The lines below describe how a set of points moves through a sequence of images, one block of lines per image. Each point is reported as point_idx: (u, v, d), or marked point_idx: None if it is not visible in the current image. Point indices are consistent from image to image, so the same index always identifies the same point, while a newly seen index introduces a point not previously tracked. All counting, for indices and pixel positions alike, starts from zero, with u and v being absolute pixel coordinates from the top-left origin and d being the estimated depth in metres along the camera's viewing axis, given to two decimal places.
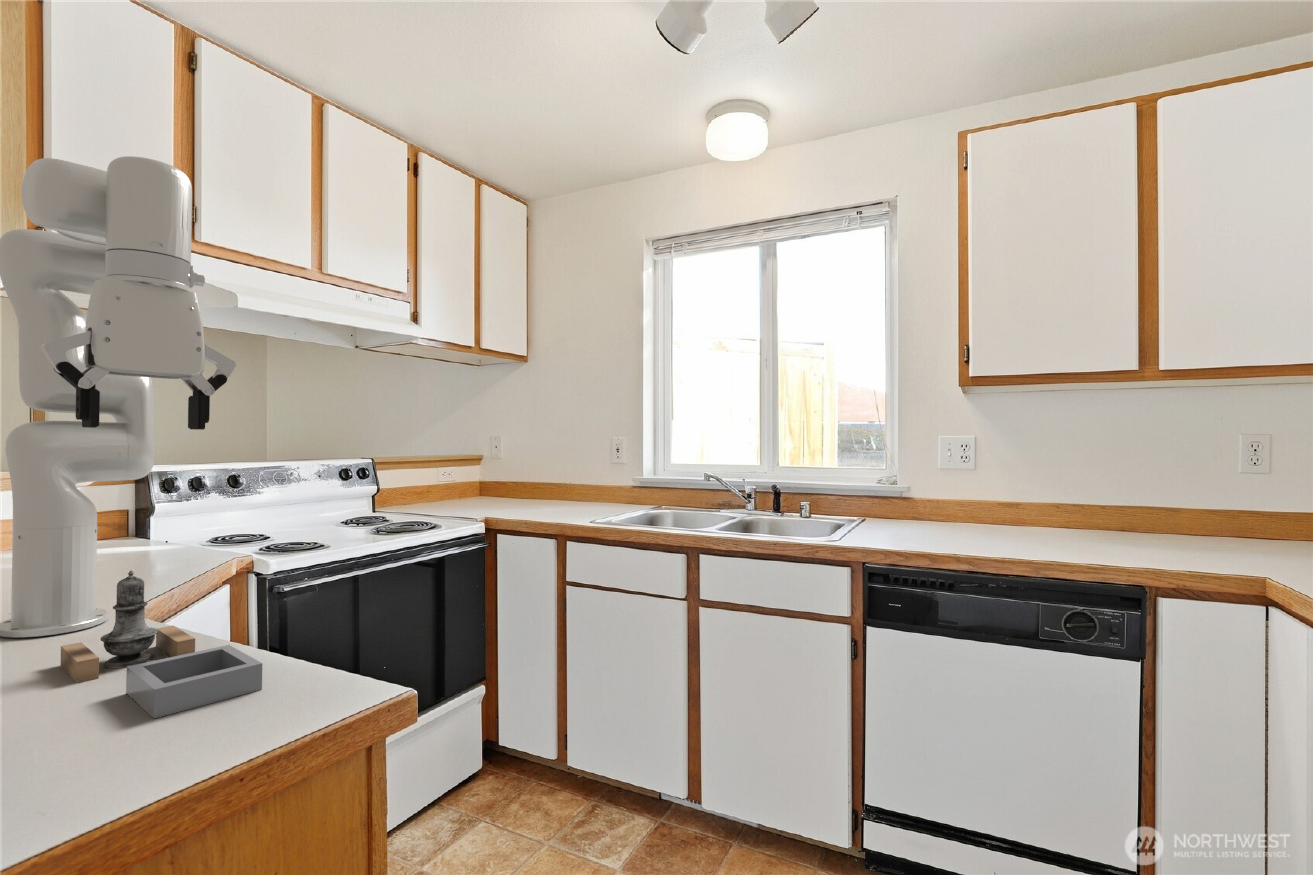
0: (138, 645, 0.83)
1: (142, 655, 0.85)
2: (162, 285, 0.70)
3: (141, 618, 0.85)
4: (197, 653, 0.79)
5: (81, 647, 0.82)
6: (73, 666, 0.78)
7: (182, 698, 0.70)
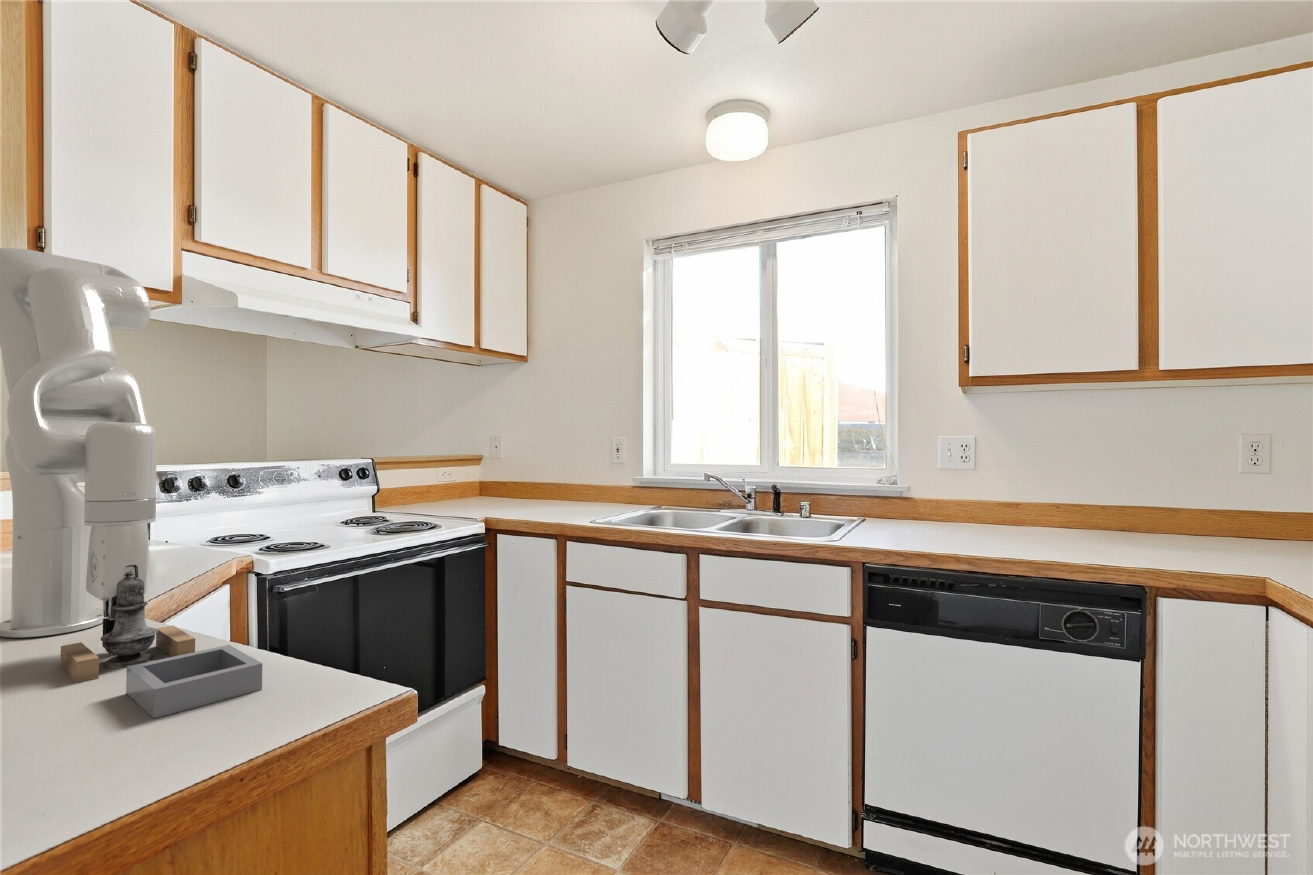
0: (138, 645, 0.83)
1: (142, 655, 0.85)
2: None
3: (141, 618, 0.85)
4: (197, 653, 0.79)
5: (81, 647, 0.82)
6: (73, 666, 0.78)
7: (182, 698, 0.70)
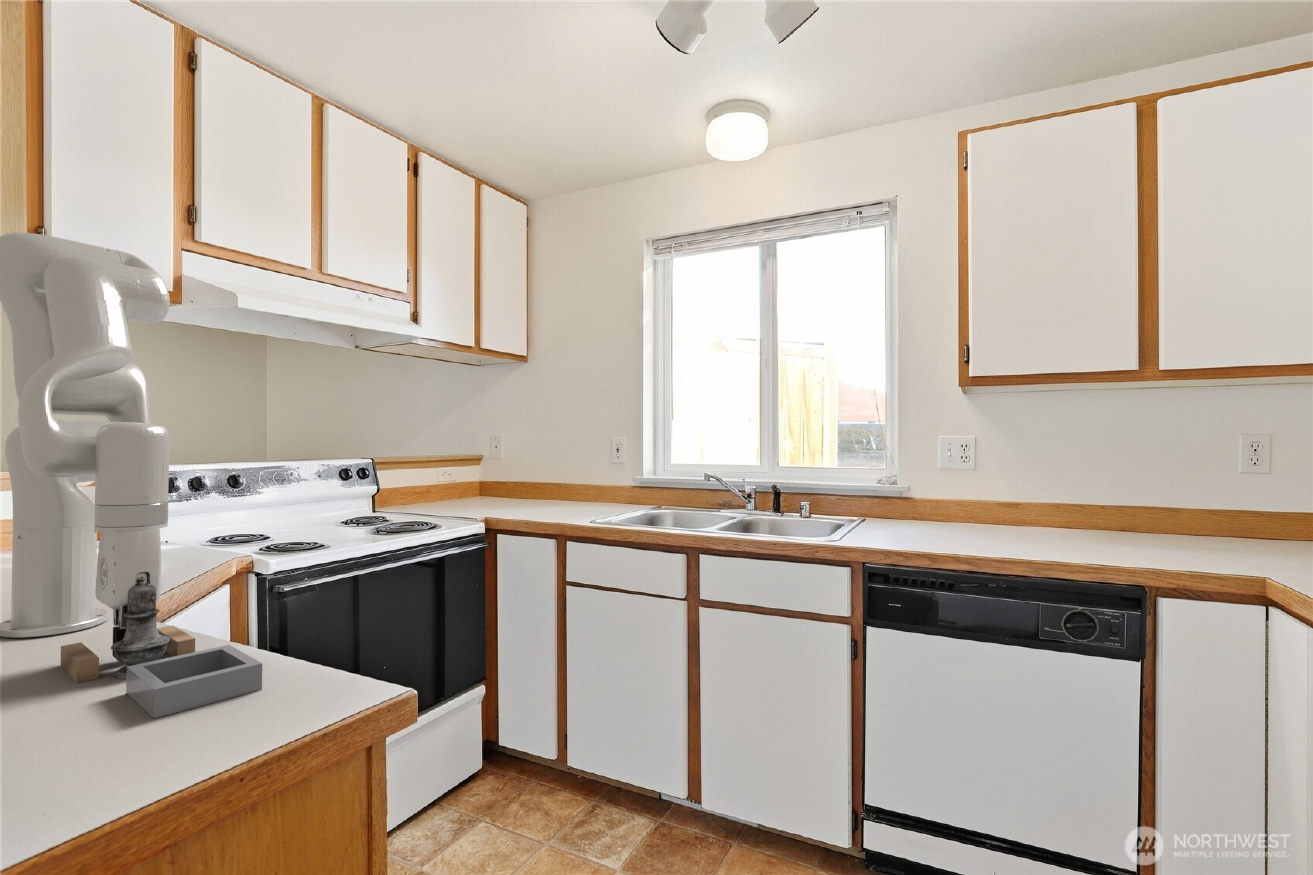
0: (150, 654, 0.80)
1: None
2: None
3: (153, 626, 0.81)
4: (197, 653, 0.79)
5: (81, 647, 0.82)
6: (73, 666, 0.78)
7: (182, 698, 0.70)
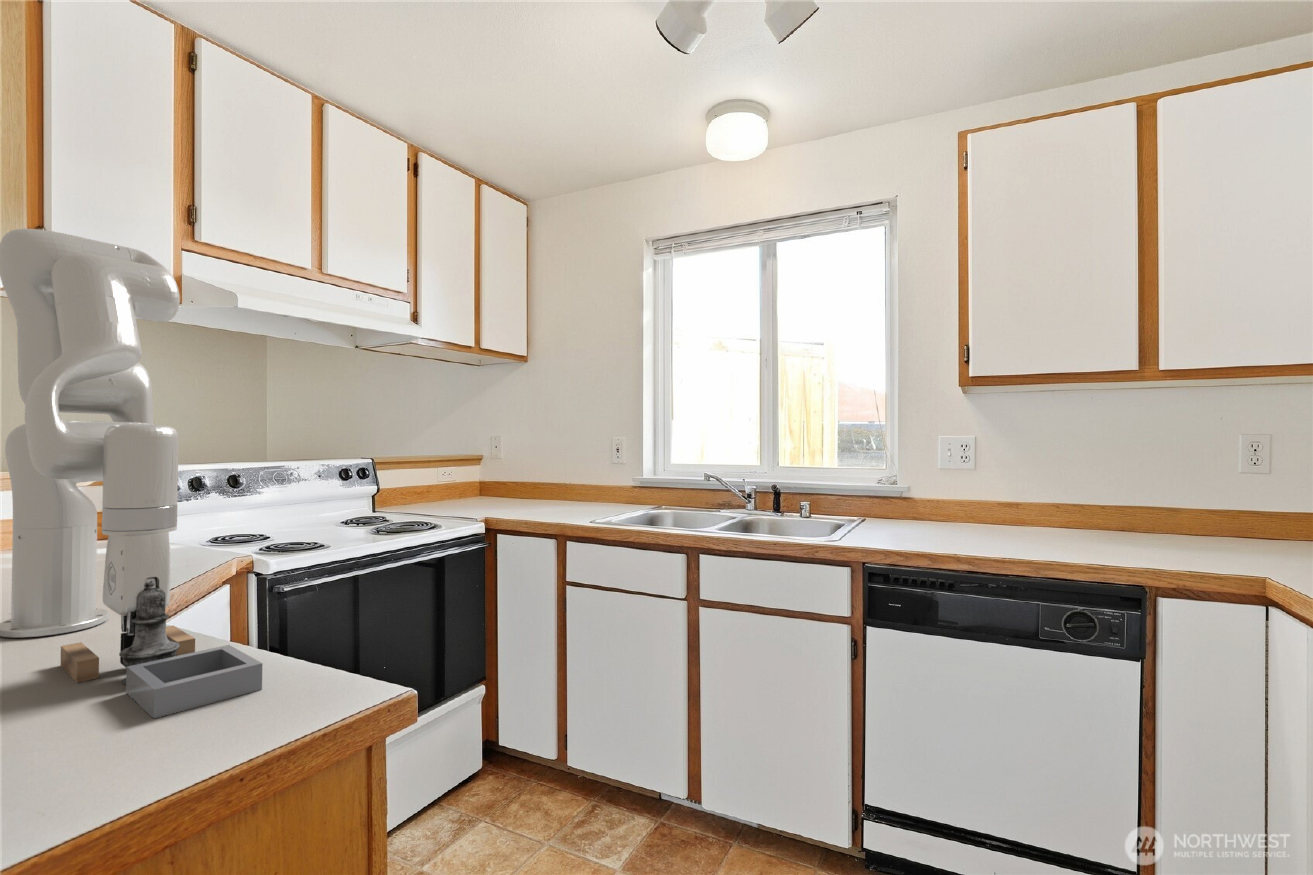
0: None
1: None
2: None
3: (162, 631, 0.79)
4: (197, 653, 0.79)
5: (81, 647, 0.82)
6: (73, 666, 0.78)
7: (182, 698, 0.70)
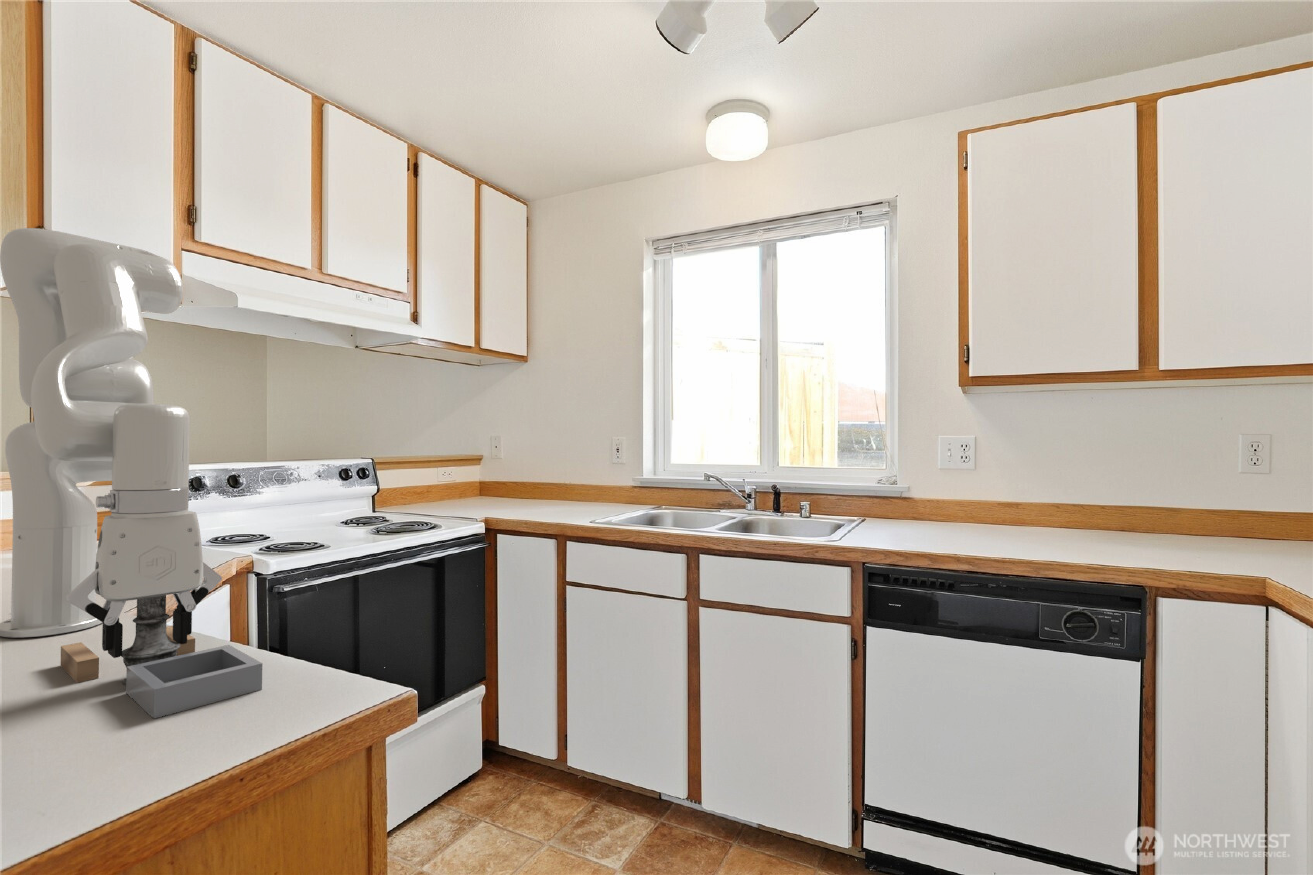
0: None
1: None
2: None
3: (163, 631, 0.79)
4: (197, 653, 0.79)
5: (81, 647, 0.82)
6: (73, 666, 0.78)
7: (182, 698, 0.70)
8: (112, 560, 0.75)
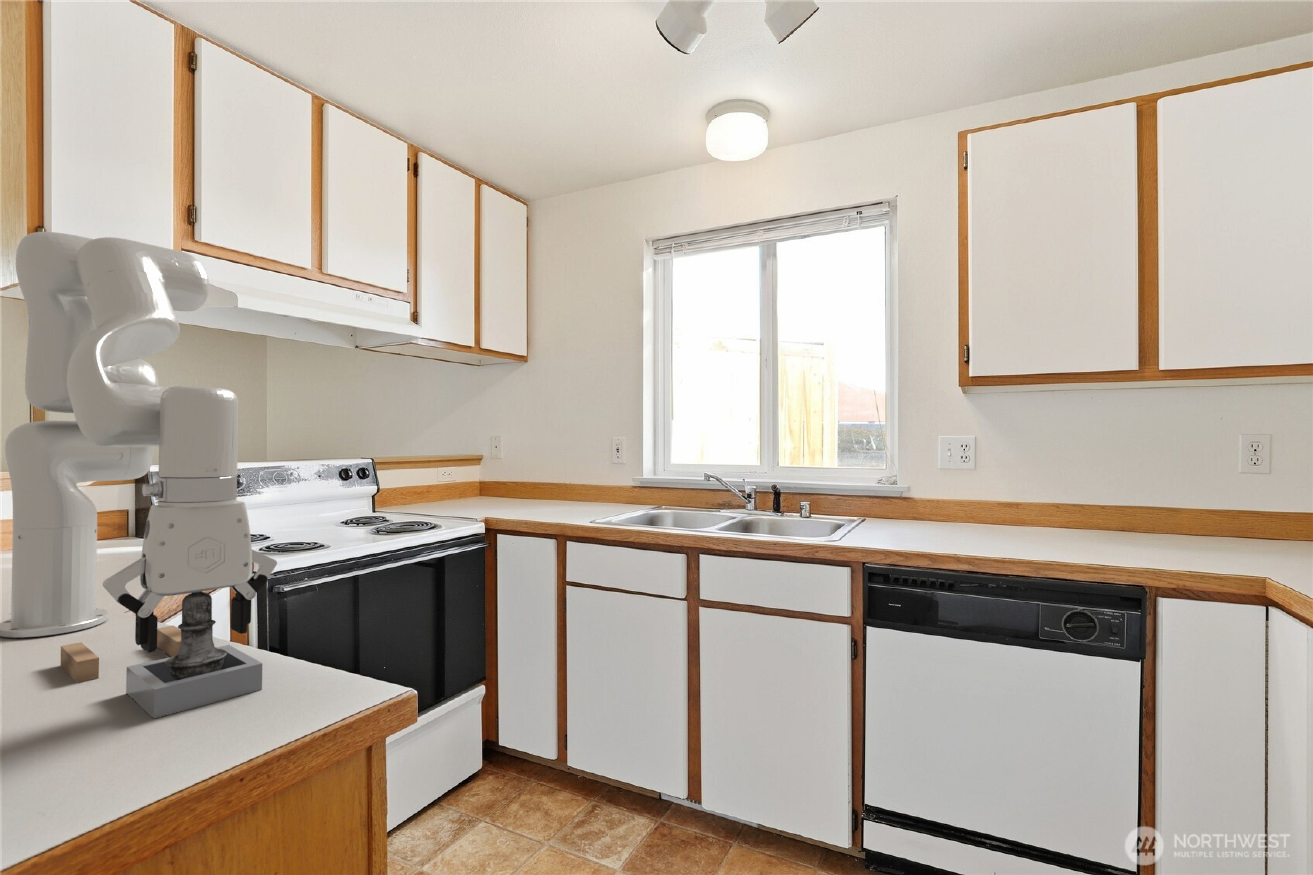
0: (208, 669, 0.73)
1: None
2: None
3: (209, 638, 0.75)
4: None
5: (81, 647, 0.82)
6: (73, 666, 0.78)
7: (182, 698, 0.70)
8: (160, 552, 0.70)
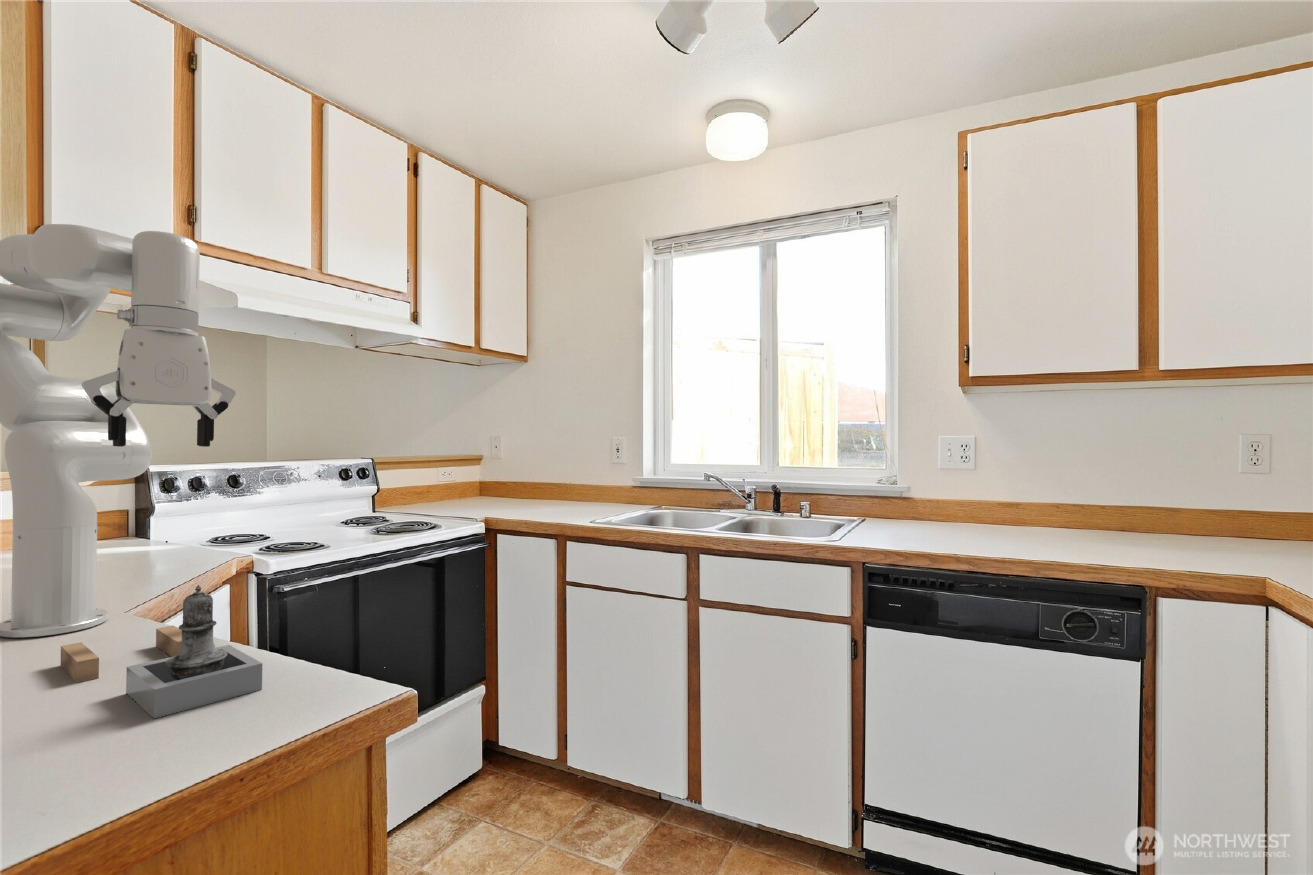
0: (208, 670, 0.73)
1: None
2: None
3: (210, 639, 0.75)
4: None
5: (81, 647, 0.82)
6: (73, 666, 0.78)
7: (182, 698, 0.70)
8: (132, 364, 0.85)
